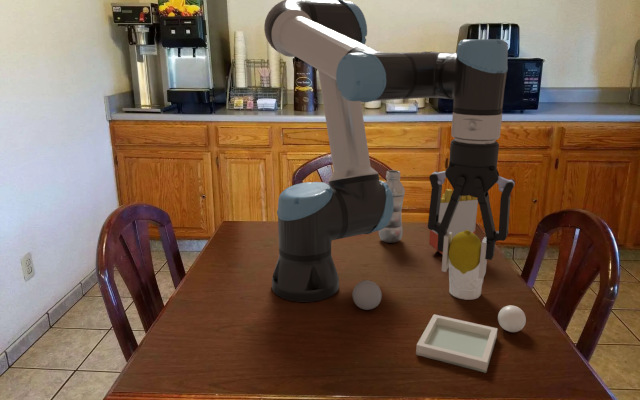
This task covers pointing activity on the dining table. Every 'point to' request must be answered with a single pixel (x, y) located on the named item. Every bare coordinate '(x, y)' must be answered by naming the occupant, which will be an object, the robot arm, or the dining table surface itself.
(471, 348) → the square dish
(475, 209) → the french fries container
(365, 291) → the grey rubber ball
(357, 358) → the dining table surface
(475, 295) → the white cup
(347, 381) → the dining table surface
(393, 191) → the plastic bottle
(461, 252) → the lemon
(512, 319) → the white plastic ball
